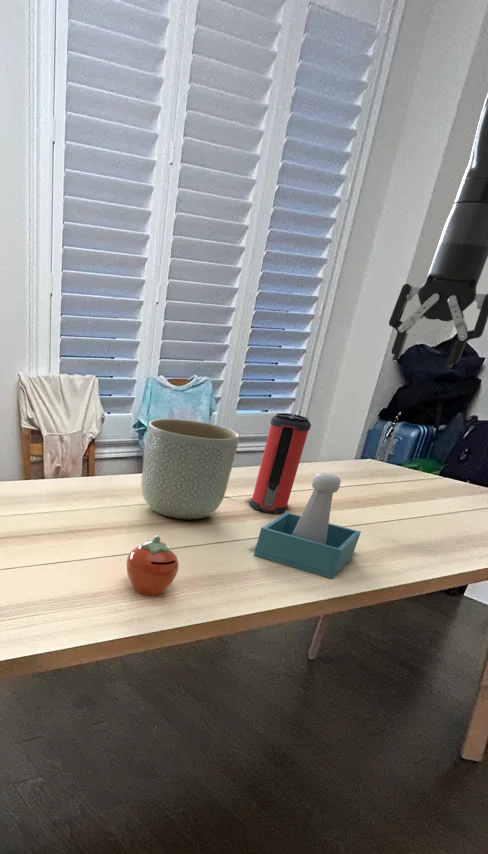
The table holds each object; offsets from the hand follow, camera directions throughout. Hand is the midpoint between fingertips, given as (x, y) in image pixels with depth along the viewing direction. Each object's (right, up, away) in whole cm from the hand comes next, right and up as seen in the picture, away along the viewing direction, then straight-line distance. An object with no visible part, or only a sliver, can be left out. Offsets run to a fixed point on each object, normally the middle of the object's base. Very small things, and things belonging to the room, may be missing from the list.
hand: (422, 362), depth 107 cm
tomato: (-48, -42, -15) cm, 65 cm away
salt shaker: (-19, -31, +4) cm, 36 cm away
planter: (-39, -19, +18) cm, 47 cm away
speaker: (-18, -16, +27) cm, 36 cm away
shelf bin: (-19, -32, +4) cm, 37 cm away
